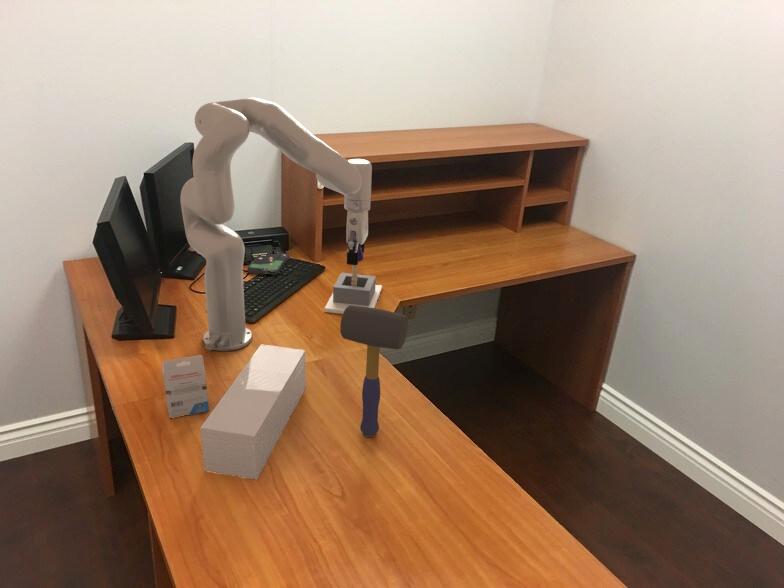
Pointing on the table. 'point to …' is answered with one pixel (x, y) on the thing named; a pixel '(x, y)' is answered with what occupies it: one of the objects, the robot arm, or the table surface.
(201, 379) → the ink box
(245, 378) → the long gray block
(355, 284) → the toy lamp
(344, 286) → the dock
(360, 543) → the table surface
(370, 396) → the rubber mallet
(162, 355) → the table surface
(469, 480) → the table surface
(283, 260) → the disk drive
